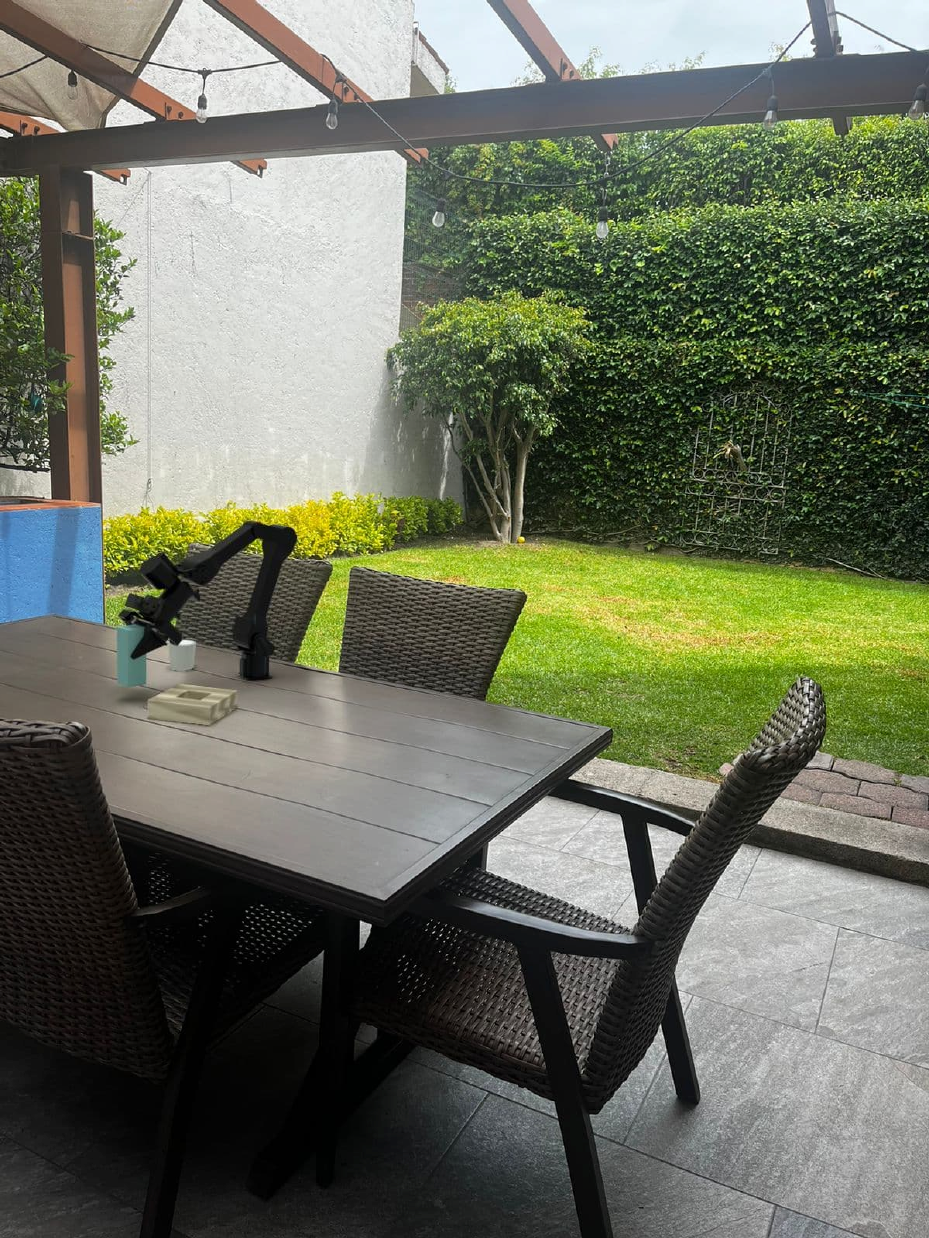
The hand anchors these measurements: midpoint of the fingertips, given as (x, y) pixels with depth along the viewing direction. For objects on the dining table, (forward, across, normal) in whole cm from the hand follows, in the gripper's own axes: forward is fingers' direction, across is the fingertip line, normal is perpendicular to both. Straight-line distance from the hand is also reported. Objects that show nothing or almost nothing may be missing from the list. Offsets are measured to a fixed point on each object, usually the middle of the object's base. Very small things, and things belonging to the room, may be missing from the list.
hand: (126, 656), depth 204 cm
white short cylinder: (-10, -17, +25) cm, 32 cm away
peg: (+4, 0, +6) cm, 7 cm away
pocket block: (+3, +17, +12) cm, 21 cm away
